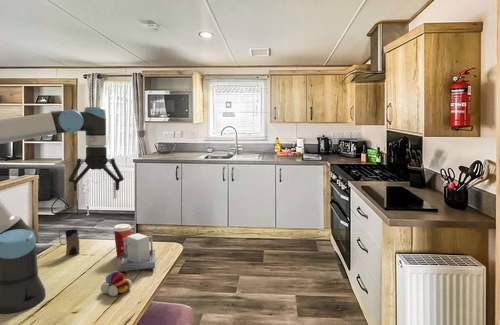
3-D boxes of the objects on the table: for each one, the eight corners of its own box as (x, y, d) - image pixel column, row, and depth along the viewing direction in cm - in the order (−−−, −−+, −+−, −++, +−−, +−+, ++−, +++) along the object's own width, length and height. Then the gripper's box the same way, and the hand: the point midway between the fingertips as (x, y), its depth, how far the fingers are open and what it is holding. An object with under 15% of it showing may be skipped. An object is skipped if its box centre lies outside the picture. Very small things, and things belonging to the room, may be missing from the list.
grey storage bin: (118, 275, 135) (117, 249, 134) (122, 261, 148) (121, 238, 147) (154, 271, 139) (154, 246, 137) (155, 258, 152) (154, 235, 151)
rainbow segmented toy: (115, 300, 116) (114, 279, 115) (97, 293, 121) (96, 273, 120) (135, 289, 123) (134, 270, 122) (117, 283, 128) (116, 265, 127)
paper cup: (126, 259, 151) (125, 228, 149) (111, 258, 152) (109, 227, 151) (135, 253, 158) (134, 223, 157) (120, 251, 160) (119, 222, 158)
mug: (80, 251, 161) (78, 226, 160) (79, 255, 156) (78, 229, 154) (61, 253, 158) (59, 228, 156) (59, 257, 153) (58, 232, 151)
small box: (150, 260, 143) (149, 236, 142) (138, 264, 139) (137, 239, 138) (138, 256, 148) (137, 232, 147) (127, 260, 144) (126, 236, 142)
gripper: (58, 146, 129) (60, 201, 131) (128, 147, 135) (128, 199, 137) (64, 145, 136) (66, 197, 138) (130, 146, 142) (130, 196, 144)
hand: (97, 198), depth 138 cm, fingers open, 13 cm apart
